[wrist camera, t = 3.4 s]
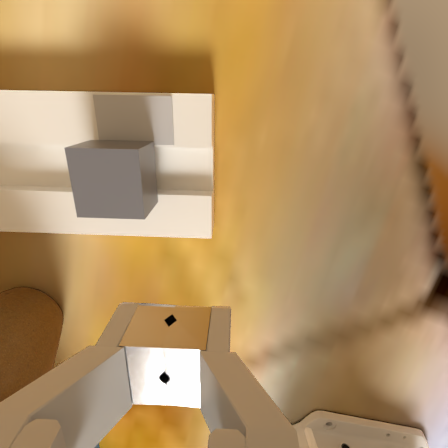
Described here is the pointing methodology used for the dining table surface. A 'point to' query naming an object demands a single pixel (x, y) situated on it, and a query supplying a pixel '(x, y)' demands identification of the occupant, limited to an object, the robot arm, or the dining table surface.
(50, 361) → the plant pot
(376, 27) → the dining table surface
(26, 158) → the switch plate
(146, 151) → the switch knob
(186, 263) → the dining table surface
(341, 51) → the dining table surface
